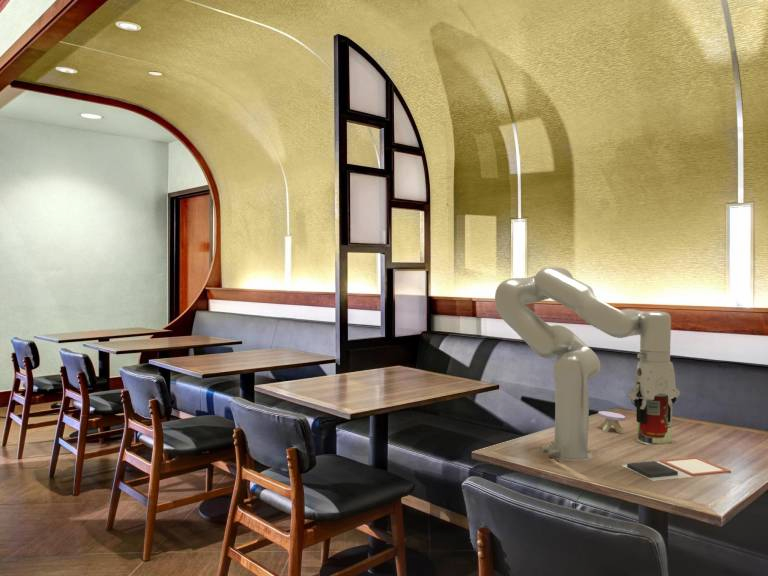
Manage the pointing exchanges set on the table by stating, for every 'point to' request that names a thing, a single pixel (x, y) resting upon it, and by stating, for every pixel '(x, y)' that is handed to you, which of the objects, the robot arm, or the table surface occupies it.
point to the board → (680, 475)
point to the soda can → (656, 417)
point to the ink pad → (652, 469)
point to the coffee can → (654, 441)
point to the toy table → (611, 421)
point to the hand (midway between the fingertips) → (653, 421)
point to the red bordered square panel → (695, 466)
